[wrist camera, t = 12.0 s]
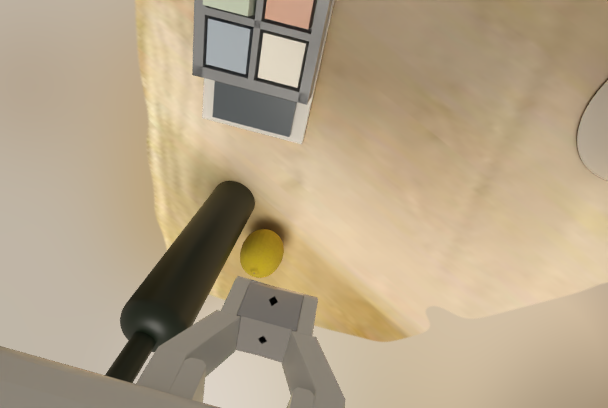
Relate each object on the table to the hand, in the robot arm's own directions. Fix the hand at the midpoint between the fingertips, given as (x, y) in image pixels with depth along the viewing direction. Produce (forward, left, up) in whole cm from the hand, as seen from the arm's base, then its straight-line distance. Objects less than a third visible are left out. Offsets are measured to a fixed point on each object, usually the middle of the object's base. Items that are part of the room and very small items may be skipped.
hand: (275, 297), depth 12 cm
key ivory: (+2, -6, -27) cm, 28 cm away
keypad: (+4, -8, -29) cm, 30 cm away
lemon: (+18, +12, -29) cm, 36 cm away
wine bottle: (+19, +5, -29) cm, 35 cm away
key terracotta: (-1, -10, -27) cm, 29 cm away
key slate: (+6, -10, -27) cm, 29 cm away
